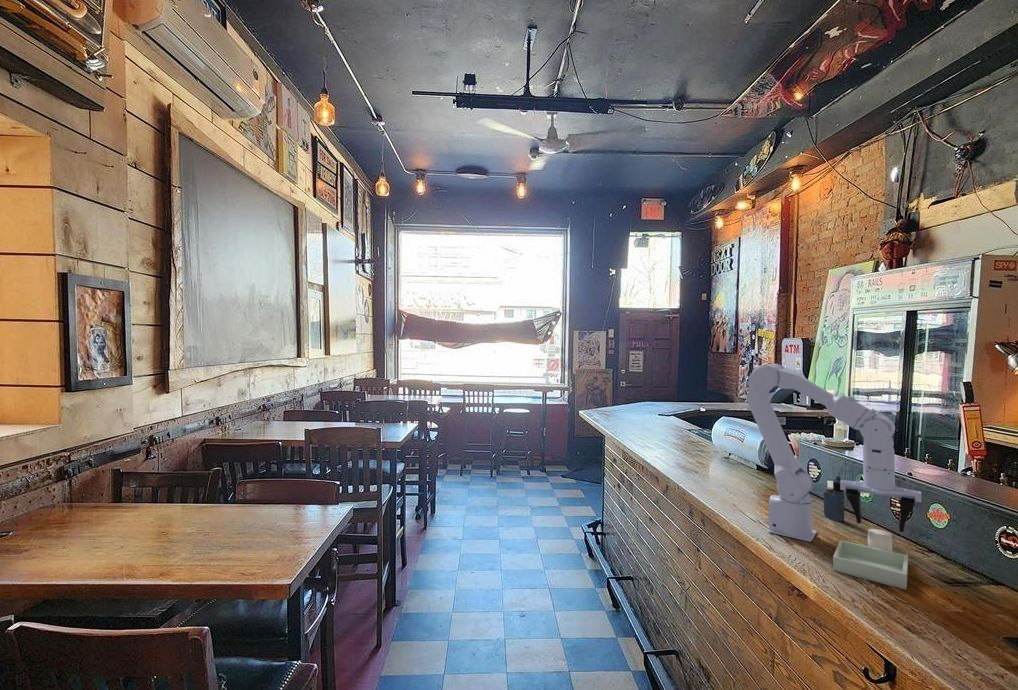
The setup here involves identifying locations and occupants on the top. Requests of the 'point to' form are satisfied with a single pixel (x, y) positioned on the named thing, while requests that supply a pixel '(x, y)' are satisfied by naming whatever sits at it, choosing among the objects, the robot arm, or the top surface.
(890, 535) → the white rounded cylinder
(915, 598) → the top surface
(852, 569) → the bus tub
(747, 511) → the top surface
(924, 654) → the top surface
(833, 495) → the vaping device
